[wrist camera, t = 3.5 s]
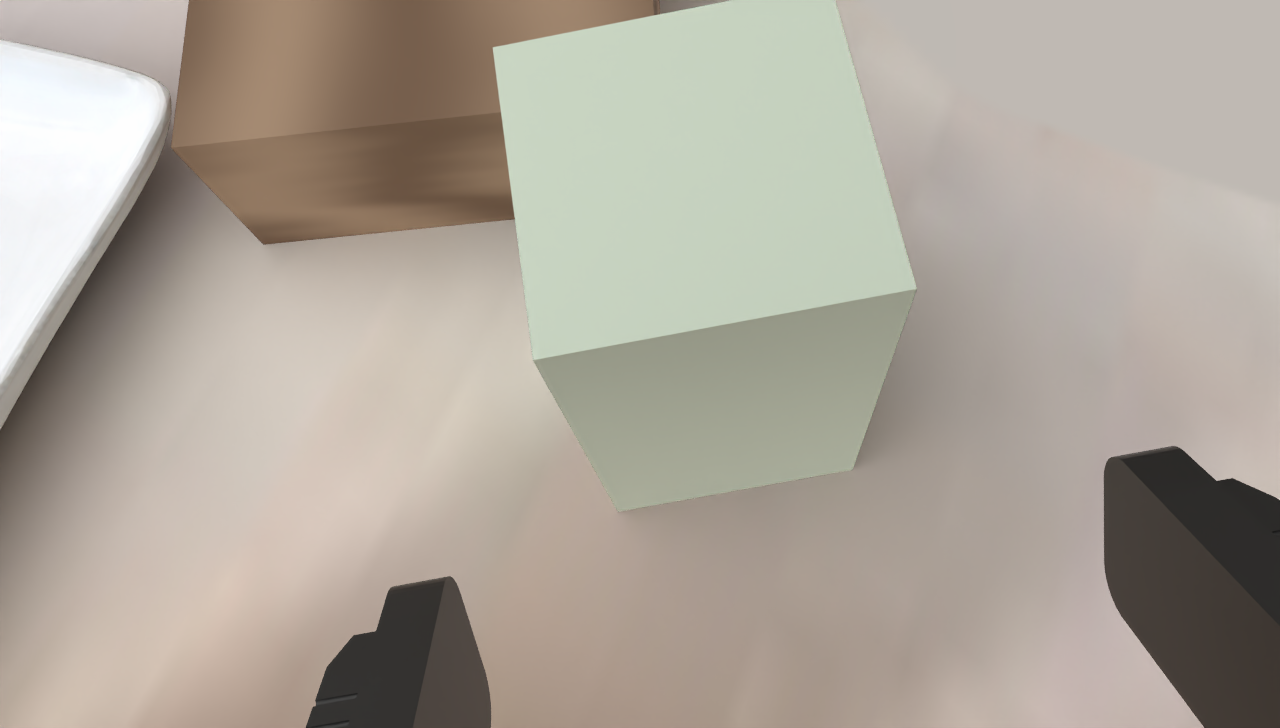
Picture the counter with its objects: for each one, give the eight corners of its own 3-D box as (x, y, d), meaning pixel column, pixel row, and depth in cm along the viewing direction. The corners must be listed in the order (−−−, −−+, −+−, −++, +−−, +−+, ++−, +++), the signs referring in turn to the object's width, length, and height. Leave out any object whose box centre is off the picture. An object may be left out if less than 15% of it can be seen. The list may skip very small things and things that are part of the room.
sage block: (801, 258, 26) (829, -20, 16) (852, 469, 24) (917, 288, 15) (585, 299, 26) (492, 47, 17) (618, 511, 24) (533, 360, 15)
